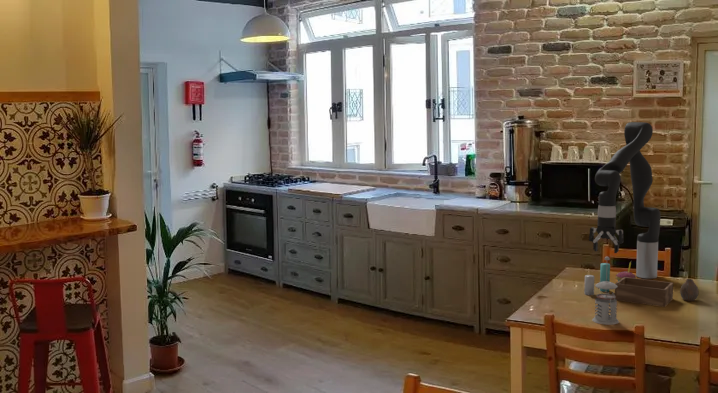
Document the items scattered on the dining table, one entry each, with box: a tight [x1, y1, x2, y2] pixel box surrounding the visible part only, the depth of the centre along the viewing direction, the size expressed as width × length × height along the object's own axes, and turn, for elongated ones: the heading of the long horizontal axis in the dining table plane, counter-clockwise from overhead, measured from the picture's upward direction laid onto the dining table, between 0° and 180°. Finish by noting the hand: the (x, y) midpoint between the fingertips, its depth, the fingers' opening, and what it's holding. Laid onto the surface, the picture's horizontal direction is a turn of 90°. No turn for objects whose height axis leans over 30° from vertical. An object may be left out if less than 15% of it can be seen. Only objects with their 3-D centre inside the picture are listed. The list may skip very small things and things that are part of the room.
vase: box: [679, 278, 699, 302], centre depth 298 cm, size 7×7×9 cm
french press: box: [591, 256, 620, 326], centre depth 270 cm, size 10×12×25 cm
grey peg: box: [583, 274, 595, 296], centre depth 311 cm, size 4×4×8 cm
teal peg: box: [599, 262, 611, 293], centre depth 315 cm, size 4×4×12 cm
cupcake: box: [615, 261, 637, 282], centre depth 321 cm, size 9×8×12 cm
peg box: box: [614, 277, 674, 308], centre depth 300 cm, size 14×20×7 cm
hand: (605, 252), depth 314 cm, fingers open, 8 cm apart
